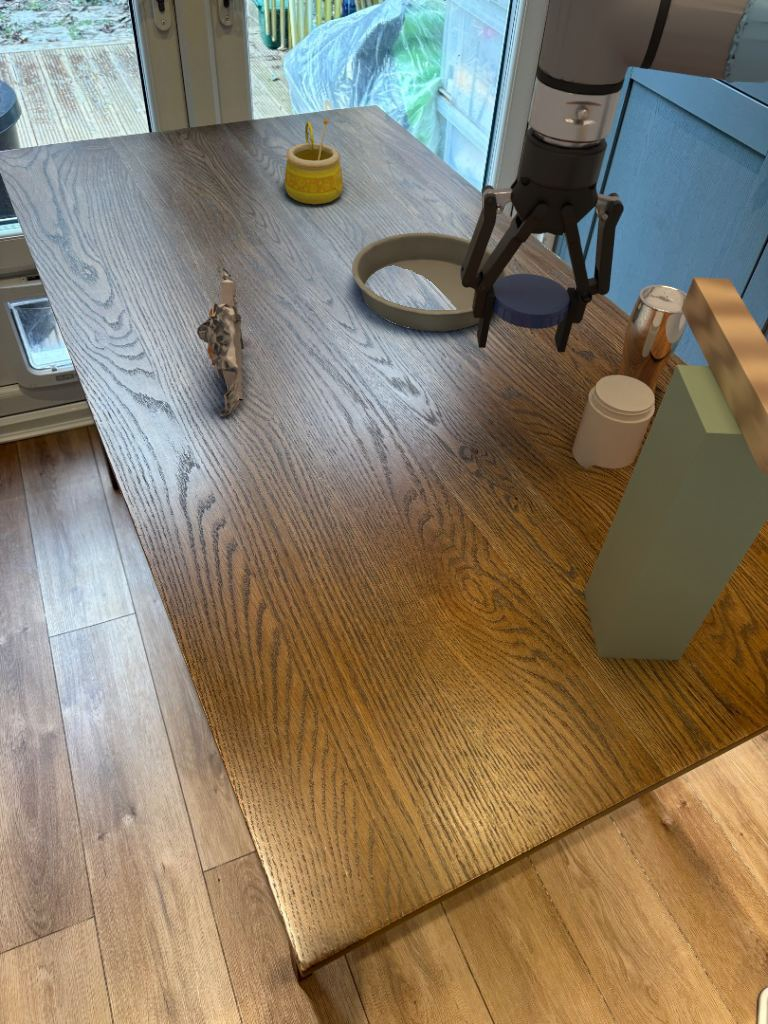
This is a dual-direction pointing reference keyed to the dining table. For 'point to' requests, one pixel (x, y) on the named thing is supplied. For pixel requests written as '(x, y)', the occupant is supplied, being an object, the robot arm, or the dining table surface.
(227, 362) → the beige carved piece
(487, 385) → the dining table surface
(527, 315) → the jar lid
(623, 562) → the stand
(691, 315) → the beech stick
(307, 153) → the yellow pot
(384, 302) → the cake pan
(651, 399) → the jam jar
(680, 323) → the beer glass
